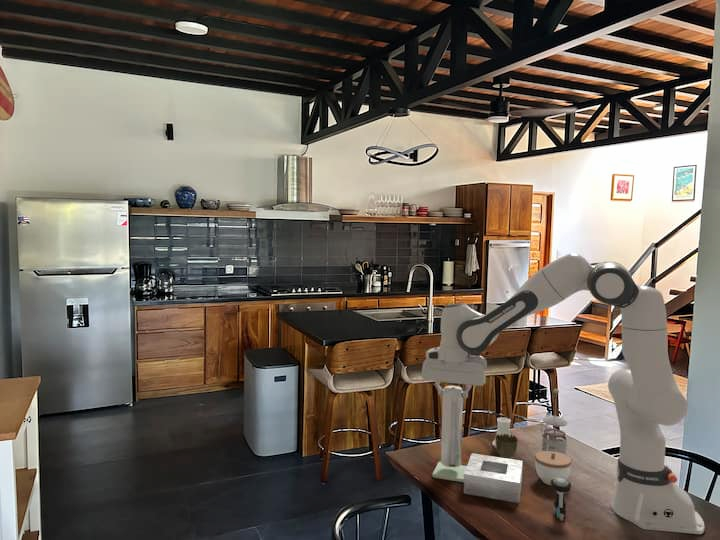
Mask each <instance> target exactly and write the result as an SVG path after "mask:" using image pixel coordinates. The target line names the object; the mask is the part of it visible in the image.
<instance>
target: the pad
mask: <svg viewBox="0 0 720 540" xmlns="http://www.w3.org/2000/svg"><path fill="white" fill-rule="evenodd" d="M466 467H467V465H463V464H461V465H460V466H459V467H446V466H444V465H442V464H441V461H438V462H437V465H436V467H435V468H434V470H433V472H432V475H431V477H432V478H434V479H435V478H436V479H441V480H447V481H453V482H459V483H464V473H465V470H466Z"/></svg>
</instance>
